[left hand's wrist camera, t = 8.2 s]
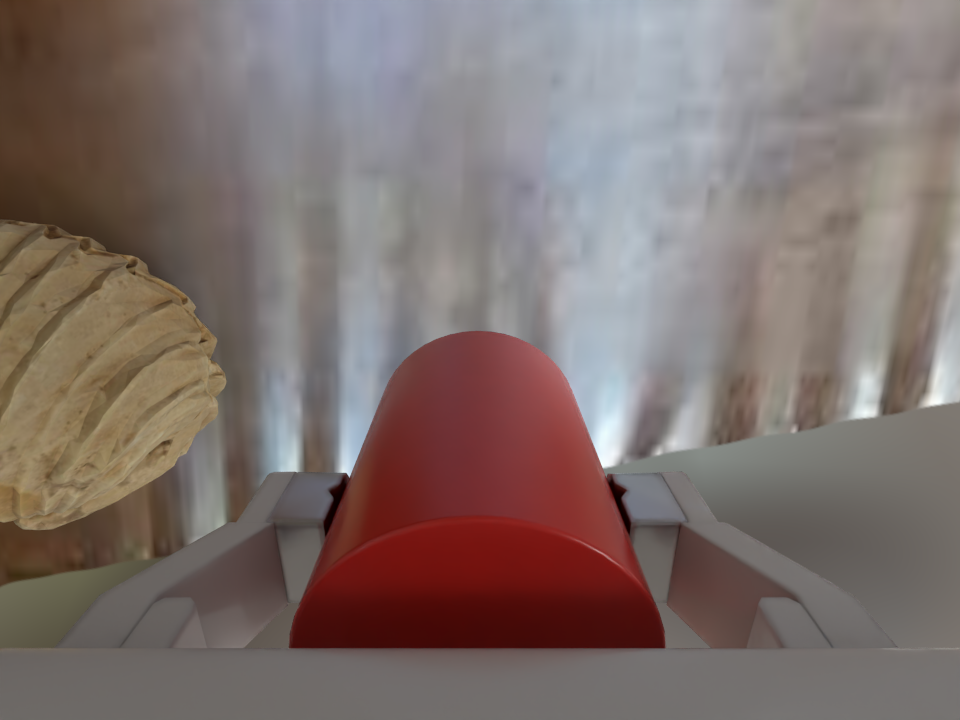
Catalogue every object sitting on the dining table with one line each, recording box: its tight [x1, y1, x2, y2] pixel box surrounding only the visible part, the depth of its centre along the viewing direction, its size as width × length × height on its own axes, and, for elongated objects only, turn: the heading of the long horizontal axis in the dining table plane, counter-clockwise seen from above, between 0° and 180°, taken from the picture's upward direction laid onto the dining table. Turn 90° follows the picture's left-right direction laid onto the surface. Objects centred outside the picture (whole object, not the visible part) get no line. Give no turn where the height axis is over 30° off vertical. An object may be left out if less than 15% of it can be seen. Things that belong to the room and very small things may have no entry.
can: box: [289, 331, 666, 648], centre depth 11 cm, size 5×5×7 cm
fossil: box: [0, 219, 226, 530], centre depth 27 cm, size 15×17×15 cm
